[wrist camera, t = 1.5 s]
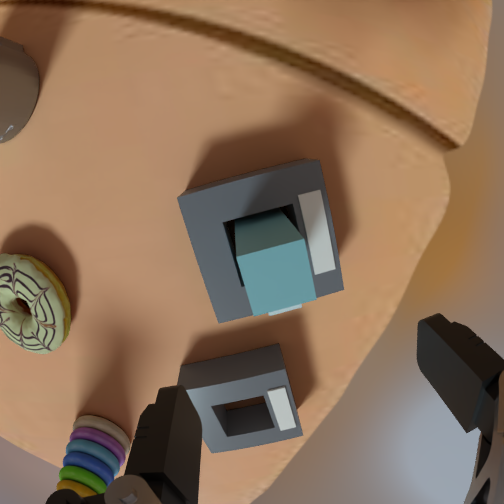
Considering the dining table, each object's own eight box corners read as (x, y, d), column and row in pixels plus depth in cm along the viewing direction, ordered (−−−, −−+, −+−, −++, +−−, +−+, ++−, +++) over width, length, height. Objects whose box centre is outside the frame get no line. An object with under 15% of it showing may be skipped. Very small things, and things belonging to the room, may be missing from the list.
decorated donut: (-3, 236, 25) (-25, 247, 21) (79, 262, 27) (61, 277, 23) (2, 321, 28) (-15, 337, 24) (77, 351, 29) (63, 371, 26)
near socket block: (185, 190, 25) (176, 198, 21) (306, 158, 25) (320, 160, 21) (220, 300, 28) (218, 324, 24) (329, 271, 28) (344, 290, 24)
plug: (234, 217, 26) (236, 256, 16) (277, 205, 26) (304, 238, 16) (248, 266, 27) (257, 328, 18) (289, 255, 27) (318, 311, 18)
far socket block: (180, 365, 30) (175, 393, 26) (279, 343, 30) (285, 370, 26) (212, 427, 33) (211, 454, 29) (296, 410, 33) (303, 436, 29)
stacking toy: (113, 411, 32) (71, 543, 14) (141, 450, 35) (118, 569, 17) (65, 412, 32) (15, 525, 14) (94, 450, 35) (61, 556, 17)
